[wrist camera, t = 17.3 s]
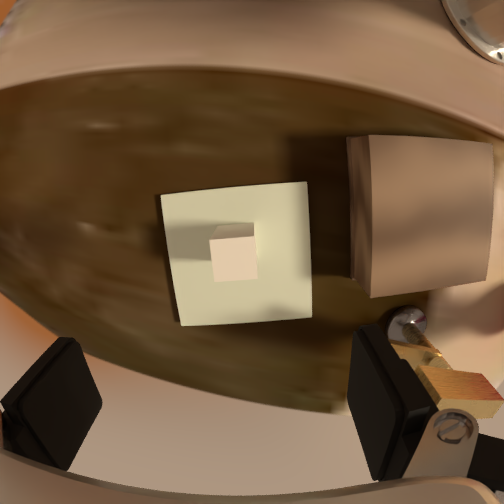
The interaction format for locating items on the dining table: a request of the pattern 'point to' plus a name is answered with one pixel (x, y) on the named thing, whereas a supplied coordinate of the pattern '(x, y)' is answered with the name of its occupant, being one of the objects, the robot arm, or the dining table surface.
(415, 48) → the dining table surface
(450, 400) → the key
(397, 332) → the silver metal disc
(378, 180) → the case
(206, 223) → the cover
